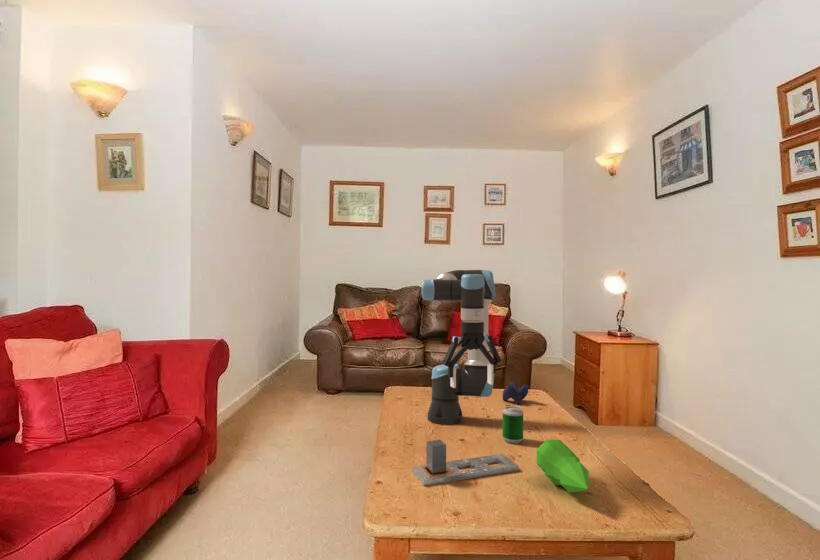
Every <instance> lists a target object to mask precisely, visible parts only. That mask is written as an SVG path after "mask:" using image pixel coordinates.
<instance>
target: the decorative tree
mask: <svg viewBox="0 0 820 560" xmlns="http://www.w3.org/2000/svg"><path fill="white" fill-rule="evenodd" d="M536 465H537V466H538V467H539V468H540V469H541V470H542V472H543V473H544V475H545V477H547V478H548V480H550V481H551V482H552V483H553V484H554V486H561V487H563V488H564V490H566V492H568V493H582V492H584V491H587V490H588V488H589V485H590V481H589V480H590V479H589V473H590V471H589V470H588V469H587V467H585V465H583V463H582V462H581V460H580V458H579V457H578V456H577V455H576V454H575V453H574V452H573V450H572V449H571V448H569V447H568V445H567V444H566V443H564V442H563V441H562V440H561V439H546V440H545V441H544V442H542V443H541V444H540V445H539V447H538V448H537V449H536Z"/></svg>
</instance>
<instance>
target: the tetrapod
mask: <svg viewBox="0 0 820 560" xmlns="http://www.w3.org/2000/svg"><path fill="white" fill-rule="evenodd" d="M529 387H530V386H529V385H528V384H527V383H525V384H523V385H522V386H521V387H520V386H518V385H517V383H516V382H515V381H514V380H512V381H510V382H509V384H508V386H506V387H505V388H504V390H503V391H502V400H503V401H504V402H507V401H508V400H509V399H512V400H513V401H514V403H515V405H518V406H519V405H521V403H522V401H523V400H524V399H526V397H527V395H528V393H529V389H530V388H529Z"/></svg>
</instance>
